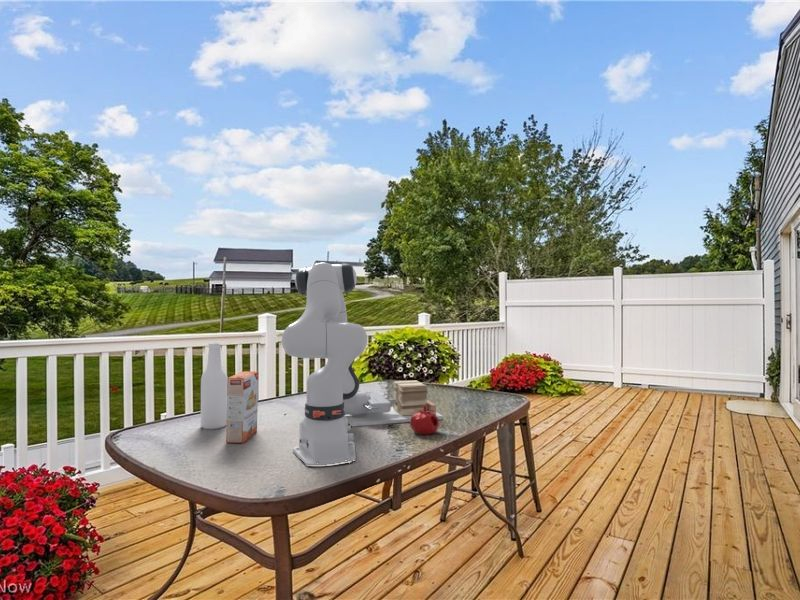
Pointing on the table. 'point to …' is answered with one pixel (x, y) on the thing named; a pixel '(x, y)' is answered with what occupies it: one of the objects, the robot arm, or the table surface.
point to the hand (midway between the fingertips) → (395, 400)
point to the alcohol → (214, 391)
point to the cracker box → (241, 406)
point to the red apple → (424, 422)
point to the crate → (409, 397)
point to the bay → (385, 417)
